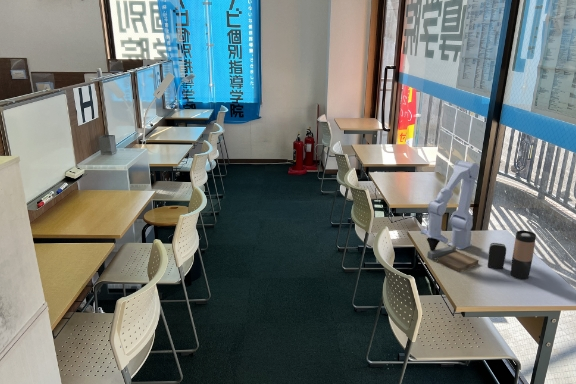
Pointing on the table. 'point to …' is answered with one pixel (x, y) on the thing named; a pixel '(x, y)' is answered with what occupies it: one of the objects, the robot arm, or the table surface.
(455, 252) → the stool seat
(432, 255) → the gray rectangular bar
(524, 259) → the travel mug
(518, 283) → the table surface
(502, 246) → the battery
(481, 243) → the table surface
